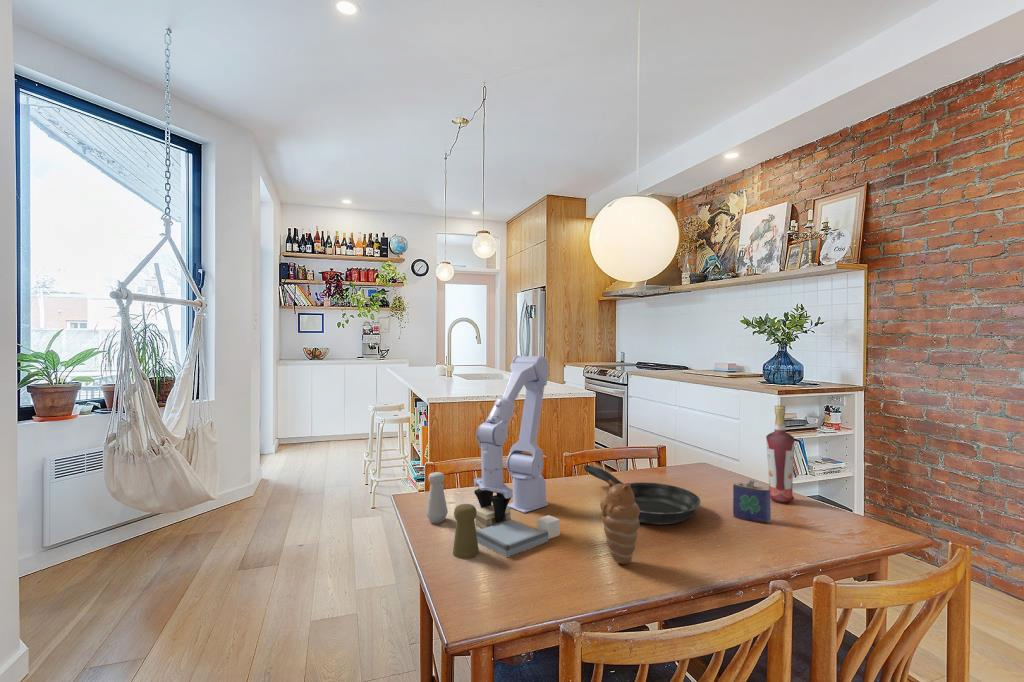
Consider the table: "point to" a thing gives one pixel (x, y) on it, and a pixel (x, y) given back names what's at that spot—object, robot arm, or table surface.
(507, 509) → the block
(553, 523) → the white cube
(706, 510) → the table surface
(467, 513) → the pepper shaker
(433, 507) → the salt shaker
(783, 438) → the liquor
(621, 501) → the cat ice cream
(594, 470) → the frying pan
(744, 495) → the flask
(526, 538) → the dock
